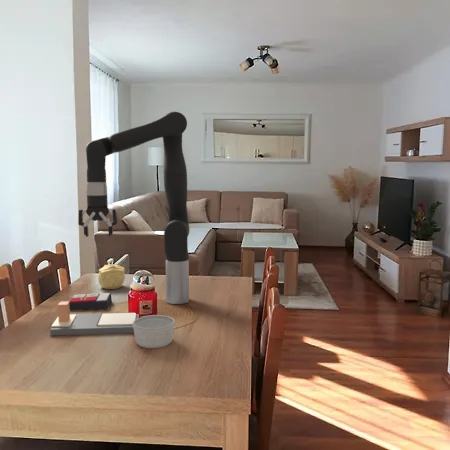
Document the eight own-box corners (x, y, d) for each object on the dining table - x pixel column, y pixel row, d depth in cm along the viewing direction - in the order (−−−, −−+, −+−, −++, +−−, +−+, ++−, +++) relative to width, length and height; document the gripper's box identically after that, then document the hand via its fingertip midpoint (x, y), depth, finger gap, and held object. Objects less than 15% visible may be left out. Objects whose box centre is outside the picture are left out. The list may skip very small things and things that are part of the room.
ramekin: (140, 353, 153) (140, 330, 152) (127, 339, 165) (127, 318, 164) (181, 345, 159) (181, 324, 158) (166, 332, 171) (166, 312, 170)
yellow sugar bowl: (100, 292, 220) (100, 267, 219) (96, 285, 231) (95, 262, 230) (127, 289, 225) (126, 265, 223) (121, 283, 235) (121, 260, 234)
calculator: (73, 293, 205) (111, 291, 206) (74, 304, 205) (111, 301, 207) (67, 301, 194) (107, 298, 195) (68, 312, 195) (108, 309, 196)
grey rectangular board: (139, 317, 186) (139, 311, 186) (136, 332, 170) (136, 325, 170) (60, 319, 183) (60, 313, 183) (50, 335, 167) (50, 328, 167)
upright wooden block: (76, 315, 181) (75, 298, 181) (69, 326, 170) (69, 308, 169) (59, 315, 181) (58, 298, 180) (51, 327, 169) (50, 308, 168)
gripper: (117, 193, 197) (118, 234, 200) (79, 193, 196) (81, 235, 198) (115, 194, 190) (116, 237, 192) (76, 194, 188) (77, 238, 191)
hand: (98, 236), depth 195 cm, fingers open, 8 cm apart
